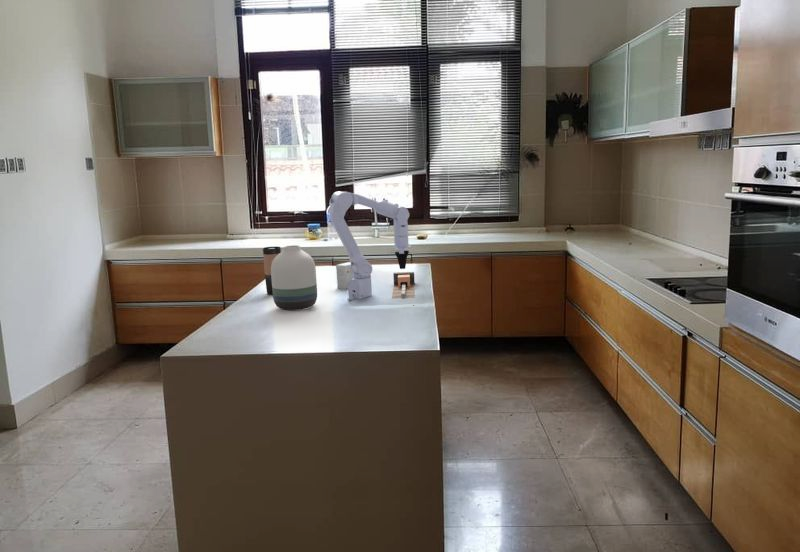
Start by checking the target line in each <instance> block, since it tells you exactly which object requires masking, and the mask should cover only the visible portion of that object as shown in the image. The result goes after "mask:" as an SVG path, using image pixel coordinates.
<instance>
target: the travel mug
mask: <svg viewBox="0 0 800 552" xmlns="http://www.w3.org/2000/svg"><path fill="white" fill-rule="evenodd" d="M281 249H282V248H281V246H266V247H264V248H263V249H262V253H263V254H262V255H263V269H264V278H265V279H264V280H265V288H266V294H267V295H269V296H273V290H272V278H271V265H272V261H273V260H274V258H275V257H276V256H277V255H278V254H280V253H281V252H282V251H281Z"/></svg>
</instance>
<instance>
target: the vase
mask: <svg viewBox="0 0 800 552" xmlns="http://www.w3.org/2000/svg"><path fill="white" fill-rule="evenodd" d="M271 278H272V290H273V295H272V298H273V302H274V304H275V305H276V307H277V308H279V309H280V310H283V311H300V310H306V309H309V308H311V307H314V305H315V304H316V302H317V299H318V285H317V283H318V282H317V268H316V264H315V260H314V259H313V257H312V256H311V255H310V254H308V253H307V252H305V251H304V250H303V249H302V248H301V245H295V244H293V245H285V246H283V247H282V251H281V253H280V254H278V255H277V256H276V257H275V258H274V260H273V261H272V265H271Z"/></svg>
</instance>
